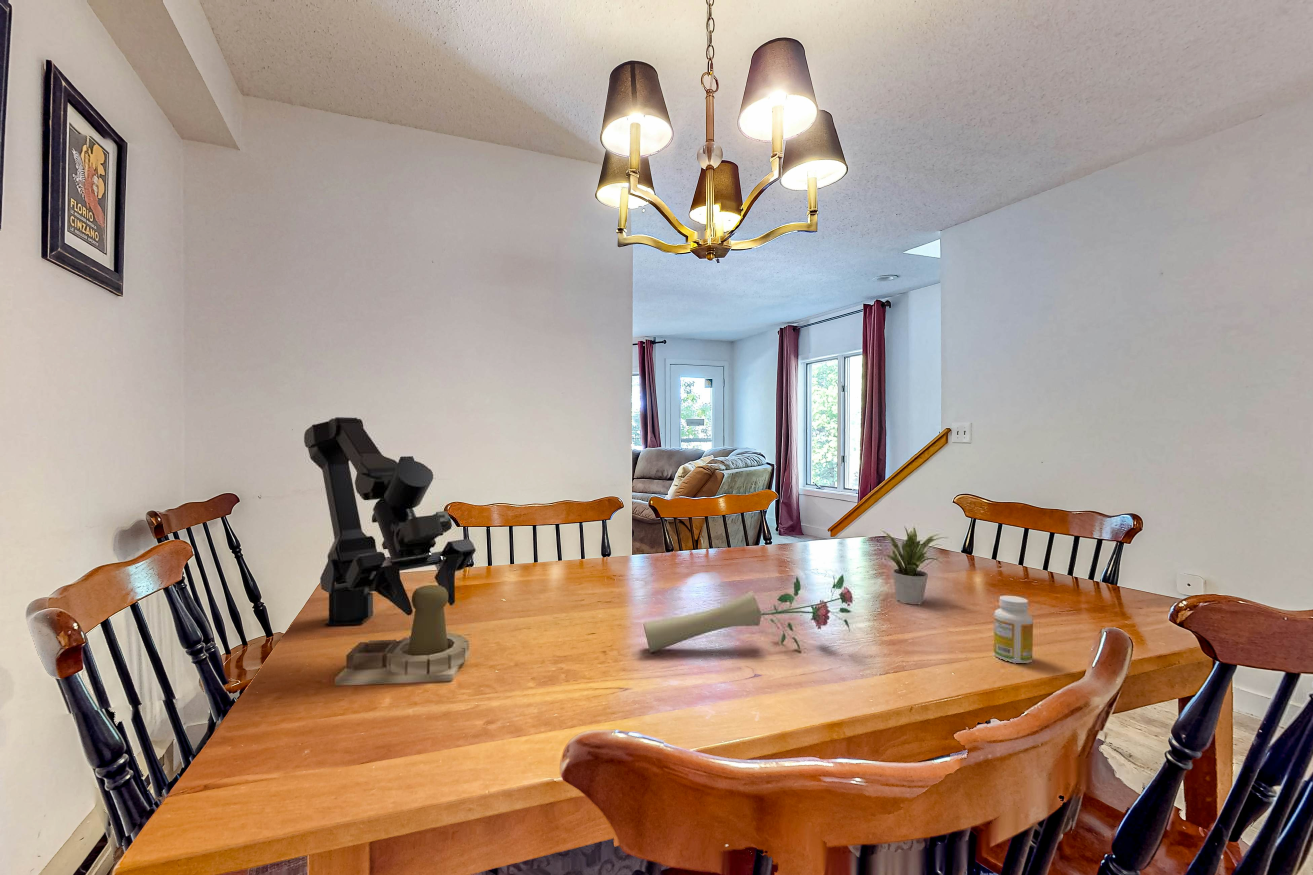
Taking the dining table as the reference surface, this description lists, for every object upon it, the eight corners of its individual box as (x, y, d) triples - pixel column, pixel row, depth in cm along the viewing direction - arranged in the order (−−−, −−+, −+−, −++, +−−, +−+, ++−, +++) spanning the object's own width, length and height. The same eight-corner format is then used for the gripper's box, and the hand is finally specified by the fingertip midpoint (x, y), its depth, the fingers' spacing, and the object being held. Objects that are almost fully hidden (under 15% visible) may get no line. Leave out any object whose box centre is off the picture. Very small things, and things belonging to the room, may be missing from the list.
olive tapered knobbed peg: (421, 669, 85) (423, 594, 85) (398, 658, 89) (401, 586, 88) (456, 657, 90) (459, 586, 90) (434, 647, 93) (436, 579, 93)
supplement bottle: (1027, 654, 96) (1028, 595, 96) (1036, 666, 91) (1037, 605, 91) (990, 649, 98) (991, 592, 98) (997, 661, 93) (998, 601, 93)
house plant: (964, 613, 117) (965, 533, 117) (895, 612, 117) (896, 532, 117) (931, 593, 132) (933, 521, 131) (870, 592, 132) (871, 521, 132)
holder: (334, 685, 82) (334, 664, 82) (366, 652, 94) (366, 634, 94) (458, 680, 84) (458, 659, 84) (474, 649, 96) (474, 631, 96)
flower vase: (656, 687, 99) (844, 633, 105) (664, 698, 88) (874, 636, 93) (640, 617, 102) (823, 568, 108) (645, 618, 91) (850, 563, 96)
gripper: (353, 500, 84) (386, 591, 77) (470, 491, 98) (507, 567, 91) (333, 546, 90) (362, 635, 83) (446, 531, 104) (479, 606, 96)
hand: (432, 608), depth 88 cm, fingers open, 6 cm apart
